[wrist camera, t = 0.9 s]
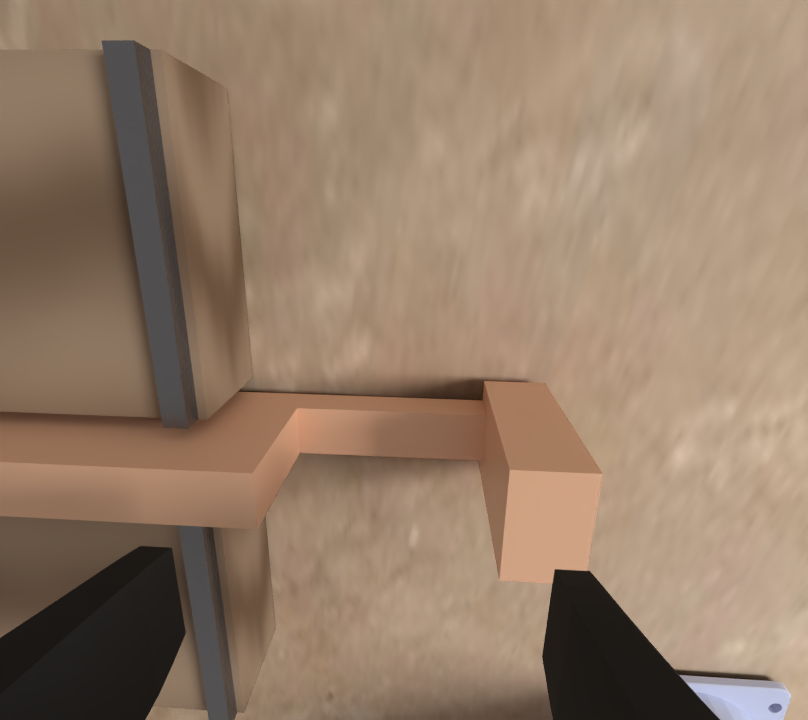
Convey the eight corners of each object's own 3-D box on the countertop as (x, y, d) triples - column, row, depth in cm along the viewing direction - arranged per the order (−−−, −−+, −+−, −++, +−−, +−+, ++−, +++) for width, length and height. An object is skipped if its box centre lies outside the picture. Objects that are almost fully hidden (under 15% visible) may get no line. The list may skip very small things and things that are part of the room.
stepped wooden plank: (536, 463, 16) (584, 585, 11) (-85, 436, 18) (-308, 534, 12) (544, 383, 16) (603, 474, 10) (-111, 360, 17) (-364, 431, 11)
